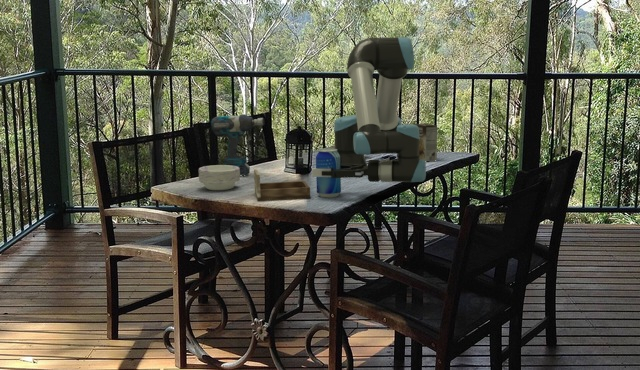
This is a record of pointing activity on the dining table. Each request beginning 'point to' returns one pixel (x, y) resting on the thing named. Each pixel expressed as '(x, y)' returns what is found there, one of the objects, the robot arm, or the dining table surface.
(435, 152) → the coffee box
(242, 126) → the cordless power drill
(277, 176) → the dining table surface
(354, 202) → the dining table surface
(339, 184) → the beer can
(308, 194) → the open wooden box
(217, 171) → the paper bowls
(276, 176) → the dining table surface
